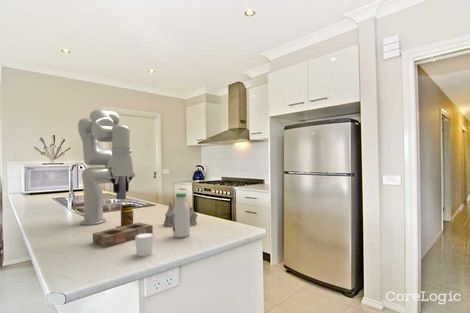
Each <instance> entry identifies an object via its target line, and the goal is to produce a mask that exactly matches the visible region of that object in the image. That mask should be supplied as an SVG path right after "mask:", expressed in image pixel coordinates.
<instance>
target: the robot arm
mask: <svg viewBox="0 0 470 313" xmlns="http://www.w3.org/2000/svg"><path fill="white" fill-rule="evenodd" d="M119 124H120V116H119V114H118V113H117V112H116V111H113V110H105V109H104V110H103V109H95V110H92V111H91V112H90V114H89V117H86V118H85V117H84V118H81V119H79V120H78V123H77V130H78V134H79V137H80V140H81V142H82V150H83V153H82V154H83V161H84V164H85V165H87V166H95V167H87V168H85V169H84V170H82V172H81V180H82V185H83V186H82V187H83V215H82V218H83V219H82V221H80V225H81V226H82V225H83V226H92V225H93V226H94V225H99V224H103V223H106V220H107V219H106V218H104V215H103V214H104V211H103V210H104V209H103V208H104V204H103V202H104V200H103V197H104V196H103V195H104V194H103V190H102V188H101V187H100V186H99V185H101V184H113V186H112V191H113V193H115V194H116V193H119V184H118V178H119V177H121V176H123V175H124V176H125V177H126V193H127V192H129V189H130V187H129V186H130V184H129V183H130V182H131V181H132V179H134V178H136V174H135V172H134V168H133V166H134V165H133V159H132V156H131V154H132V152H133V150H131V148H130V147H131V146H130V143H131V142H130V134H131V133H130V131H131V130H130V127H129V126H128V125H123V124H121V125H119ZM100 142H101V143H111V150H110V149H102V148H100ZM96 166H98V167H96ZM99 166H102V167H99ZM103 166H104V167H103Z"/></svg>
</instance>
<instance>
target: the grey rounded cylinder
mask: <svg viewBox="0 0 470 313" xmlns="http://www.w3.org/2000/svg"><path fill="white" fill-rule="evenodd" d="M118 184H119V193H115V194H116V196H115V198H116V200H126V199H127V192H126V177H125V176H124V175H123V176H121V177H119V178H118Z"/></svg>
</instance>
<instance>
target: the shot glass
mask: <svg viewBox="0 0 470 313" xmlns="http://www.w3.org/2000/svg"><path fill="white" fill-rule="evenodd" d="M154 237H155V234H154V233H153V234H152V233H143V234H138V235H136V236H135V239H134V240H135V241H134V242H135V249H136V250H135V251H136V255H137V256H138V257H146V256H147V257H148V256H150V255H152V254H153V248H154Z"/></svg>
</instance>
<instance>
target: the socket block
mask: <svg viewBox="0 0 470 313" xmlns="http://www.w3.org/2000/svg"><path fill="white" fill-rule="evenodd" d="M153 227H154V226H153V225H152V224H148V223H143V222H135V223H134V222H133V224H130V225H126V226H122V227H118V228H116V227H115V228H114V227H113V228H110V229H105V230H102V231H97V232H93V233H92V243H93V244H95V245H99V246H101V247H104V248H109V247H112V246H113V247H114V246H115V245H116V246H117V245H119V244H121V243H126V242H129V241H133V240H135V236H136V235H138V234H143V233H152V234H154V231H153V230H154V228H153Z"/></svg>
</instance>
